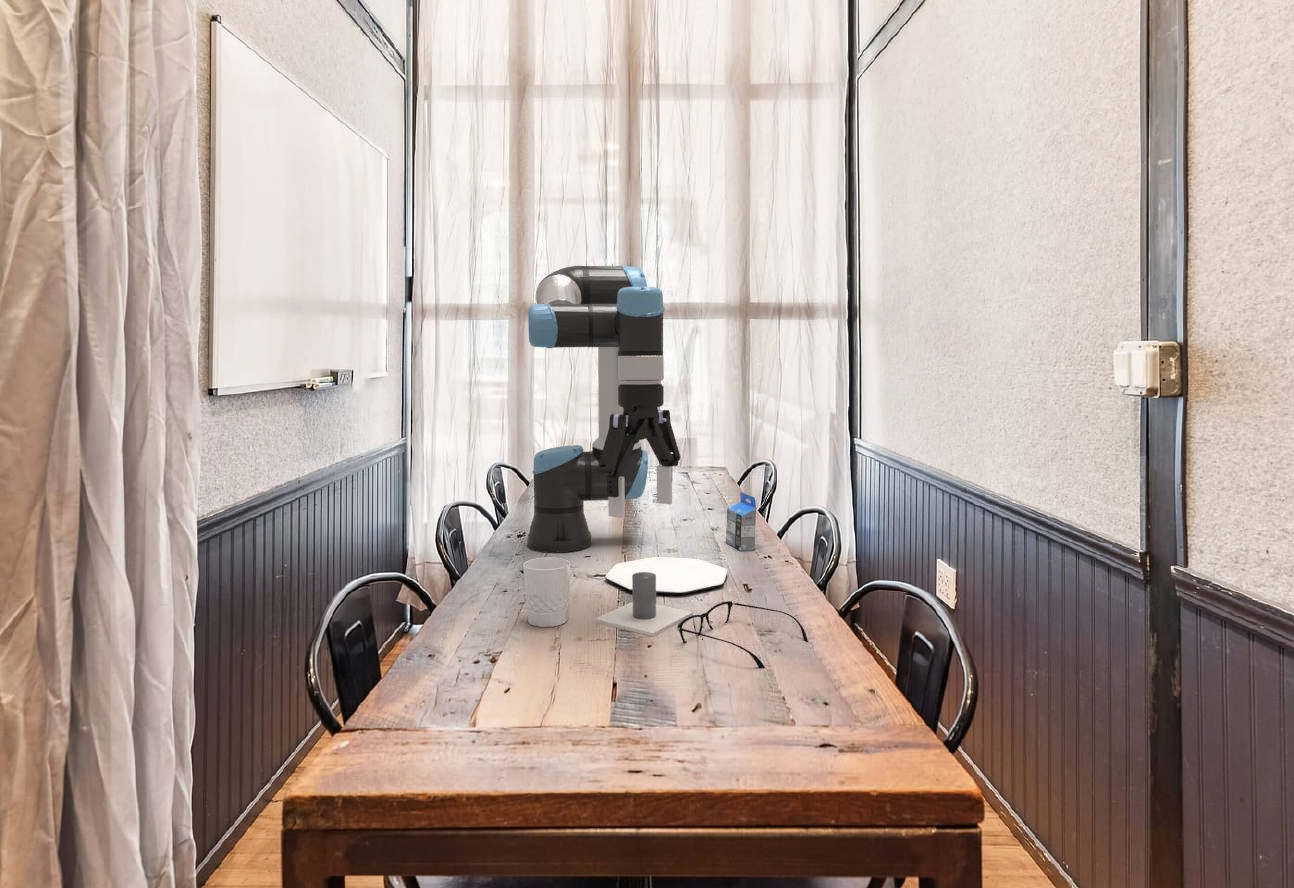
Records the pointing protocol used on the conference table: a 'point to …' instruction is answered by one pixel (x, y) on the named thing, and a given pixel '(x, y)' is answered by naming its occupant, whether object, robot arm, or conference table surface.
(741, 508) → the label tape box
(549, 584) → the white cup
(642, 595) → the lid
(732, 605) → the eyeglasses
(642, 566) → the plate
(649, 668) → the conference table surface
